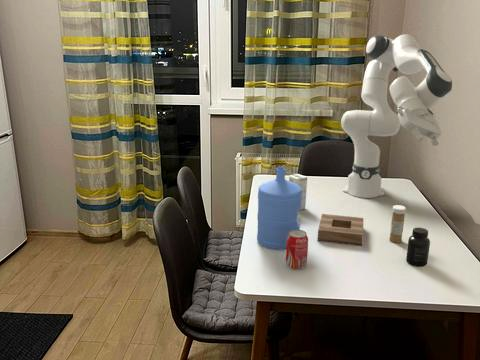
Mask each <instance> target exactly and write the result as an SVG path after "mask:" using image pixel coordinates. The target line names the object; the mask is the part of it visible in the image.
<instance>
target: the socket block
mask: <svg viewBox="0 0 480 360" xmlns="http://www.w3.org/2000/svg"><path fill="white" fill-rule="evenodd" d="M363 239H364V217H359V216H358V217H357V216H347V215H338V214H337V215H336V214H330V213H329V214H327V213H322V214H321V217H320V221H319V225H318V229H317V240H316V241H317V242H321V243H330V244H331V243H332V244H340V245H349V246H356V247H357V246H358V247H363Z"/></svg>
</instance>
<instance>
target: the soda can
mask: <svg viewBox="0 0 480 360" xmlns="http://www.w3.org/2000/svg"><path fill="white" fill-rule="evenodd" d="M308 253H309V238H308V235H307V232H306V231H305V230H302V229H300V230H291V231H290V232H289V235H288V236H287V242H286V250H285V265H286V266H287V267H288V268H289V269H291V270H295V271H299V270H302V269H305V268H306V267H307V264H308V263H307V262H308Z"/></svg>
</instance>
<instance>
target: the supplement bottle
mask: <svg viewBox="0 0 480 360" xmlns="http://www.w3.org/2000/svg"><path fill="white" fill-rule="evenodd" d="M407 241H408V243H407V250H406V257H405V260H406V263H407V264H409V266H412V267H416V268H423V267H426V266H427V265H428V261H429V260H428V259H429V255H430V254H429V253H430V248H431V247H430V246H431V240H430V238H429V230H428V229H427V228H424V227H414V228H413V229H412V234H411V235H410V236H409V237H408V240H407Z"/></svg>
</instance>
